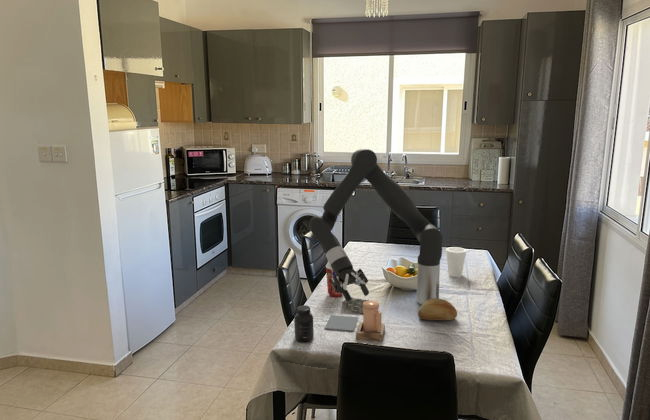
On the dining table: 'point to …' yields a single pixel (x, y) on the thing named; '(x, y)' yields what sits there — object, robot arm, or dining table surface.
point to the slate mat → (341, 323)
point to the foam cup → (455, 261)
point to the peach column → (371, 317)
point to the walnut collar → (370, 333)
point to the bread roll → (437, 310)
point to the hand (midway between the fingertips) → (358, 297)
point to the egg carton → (353, 304)
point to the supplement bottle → (303, 324)
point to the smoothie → (330, 286)
